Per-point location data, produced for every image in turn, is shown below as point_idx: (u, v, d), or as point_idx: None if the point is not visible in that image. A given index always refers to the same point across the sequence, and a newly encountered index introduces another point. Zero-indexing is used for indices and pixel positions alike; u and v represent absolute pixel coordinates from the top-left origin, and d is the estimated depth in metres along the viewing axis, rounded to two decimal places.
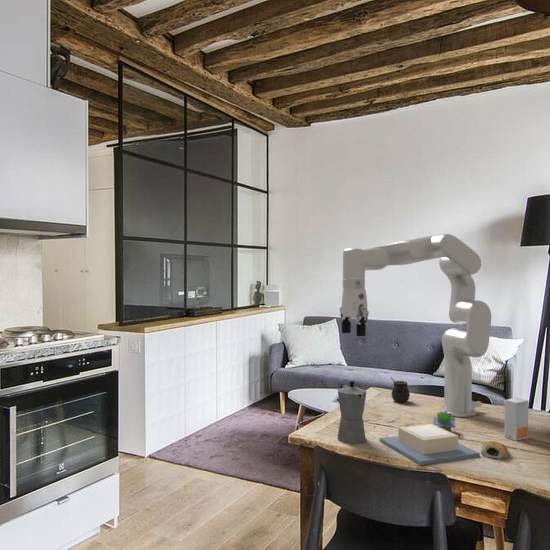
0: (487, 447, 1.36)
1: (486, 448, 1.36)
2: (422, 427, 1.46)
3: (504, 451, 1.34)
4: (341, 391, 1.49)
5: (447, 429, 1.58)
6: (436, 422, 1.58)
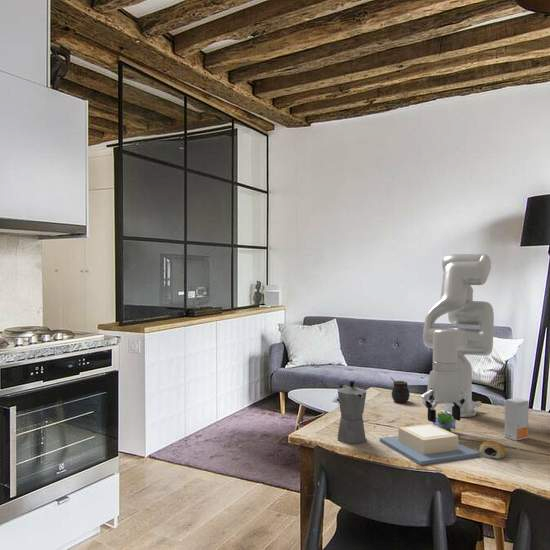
0: (485, 447, 1.36)
1: (484, 448, 1.36)
2: (422, 427, 1.46)
3: (502, 451, 1.35)
4: (341, 391, 1.49)
5: (447, 429, 1.58)
6: (436, 422, 1.58)
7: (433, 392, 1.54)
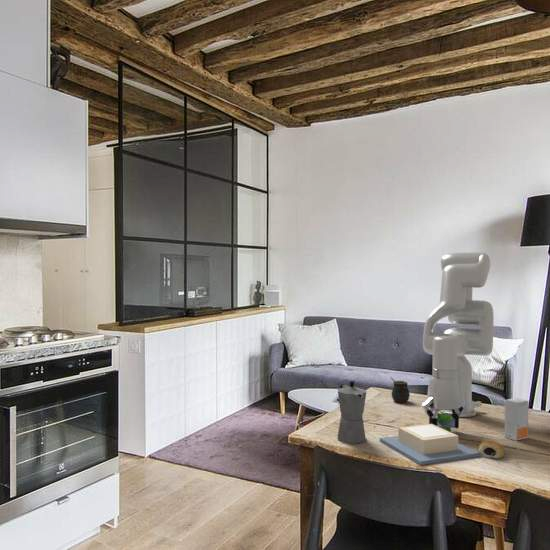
0: (484, 447, 1.36)
1: (483, 448, 1.36)
2: (422, 427, 1.46)
3: (501, 451, 1.35)
4: (341, 391, 1.49)
5: (447, 429, 1.58)
6: None
7: (433, 399, 1.54)
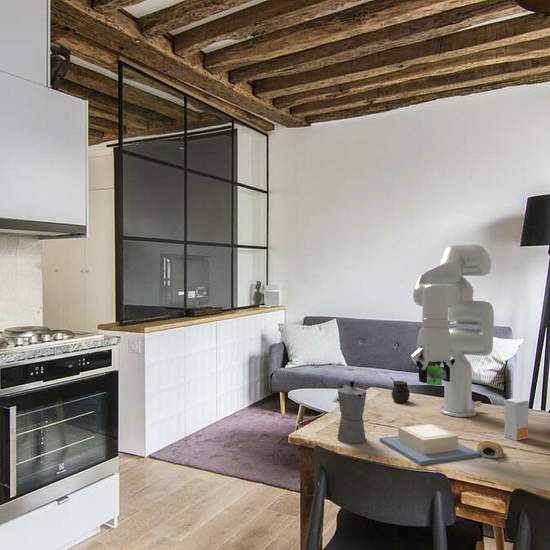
0: (483, 447, 1.36)
1: (482, 448, 1.36)
2: (422, 427, 1.46)
3: (500, 450, 1.35)
4: (341, 391, 1.49)
5: (437, 383, 1.48)
6: None
7: (422, 350, 1.45)
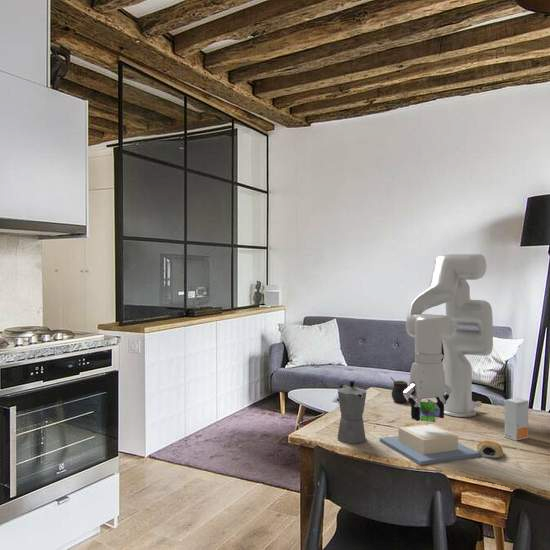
0: (483, 447, 1.36)
1: (482, 448, 1.36)
2: (422, 427, 1.46)
3: (500, 450, 1.35)
4: (341, 391, 1.49)
5: (431, 419, 1.43)
6: None
7: (415, 386, 1.39)
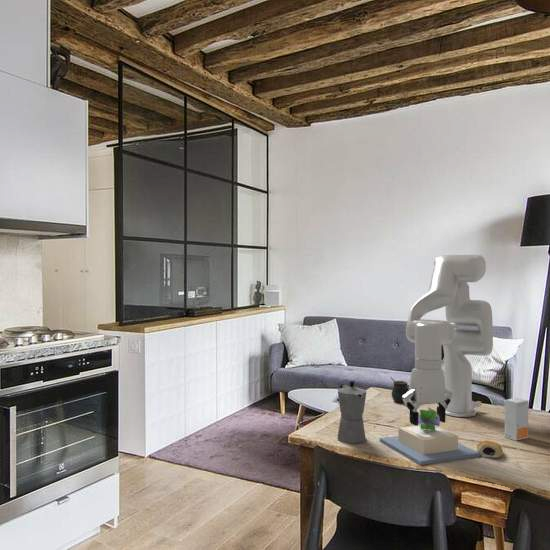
0: (483, 447, 1.36)
1: (482, 448, 1.36)
2: None
3: (500, 450, 1.35)
4: (341, 391, 1.49)
5: (431, 428, 1.43)
6: (419, 420, 1.43)
7: (415, 392, 1.39)
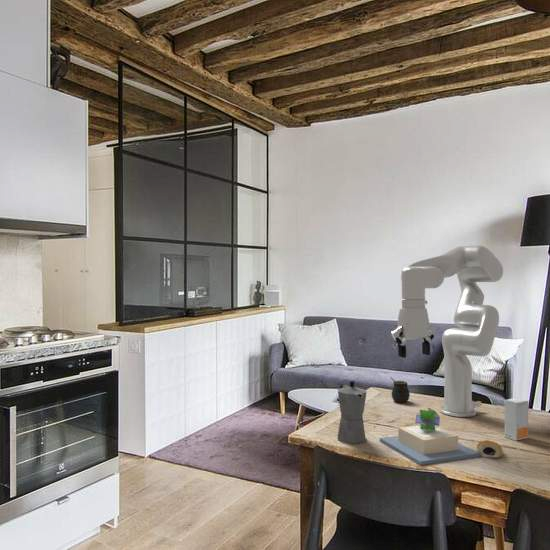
0: (484, 447, 1.36)
1: (483, 448, 1.36)
2: None
3: (500, 450, 1.35)
4: (341, 391, 1.49)
5: (431, 428, 1.43)
6: (418, 420, 1.43)
7: (403, 328, 1.58)
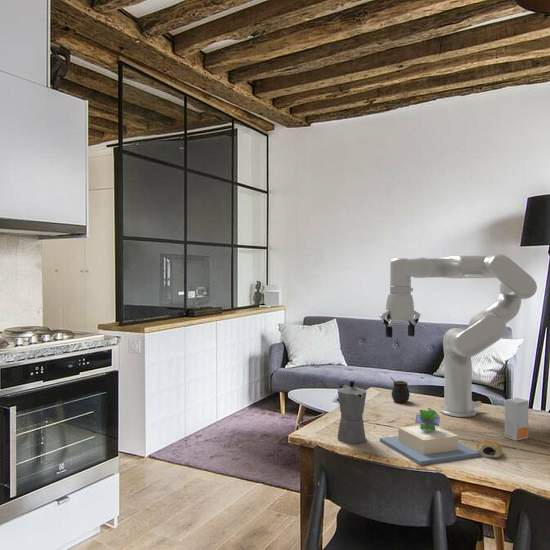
0: (484, 447, 1.36)
1: (483, 448, 1.36)
2: None
3: (500, 450, 1.35)
4: (341, 391, 1.48)
5: (431, 428, 1.43)
6: (418, 420, 1.43)
7: (390, 311, 1.79)
